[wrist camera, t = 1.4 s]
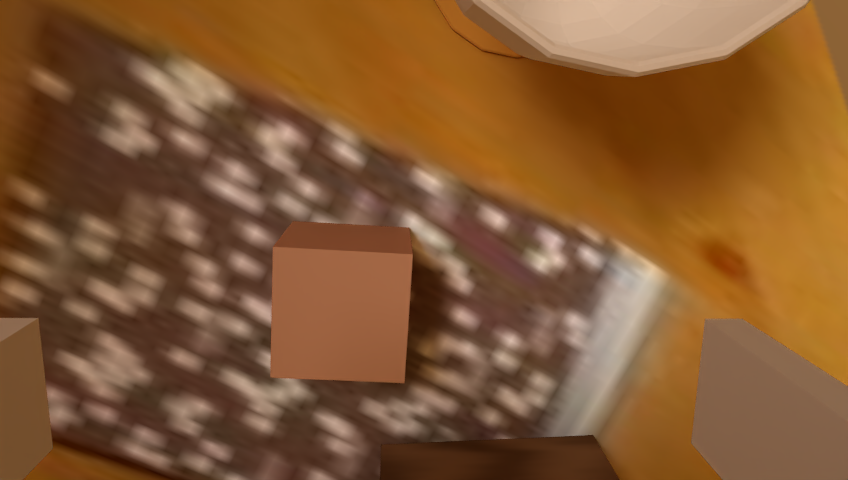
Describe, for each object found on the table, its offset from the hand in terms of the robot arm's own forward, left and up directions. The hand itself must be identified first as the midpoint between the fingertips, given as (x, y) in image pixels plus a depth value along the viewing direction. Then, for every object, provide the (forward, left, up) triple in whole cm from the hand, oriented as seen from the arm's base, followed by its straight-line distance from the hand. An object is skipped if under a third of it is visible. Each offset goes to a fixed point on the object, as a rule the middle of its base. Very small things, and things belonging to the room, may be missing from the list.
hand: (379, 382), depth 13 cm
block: (-1, -4, -22) cm, 22 cm away
